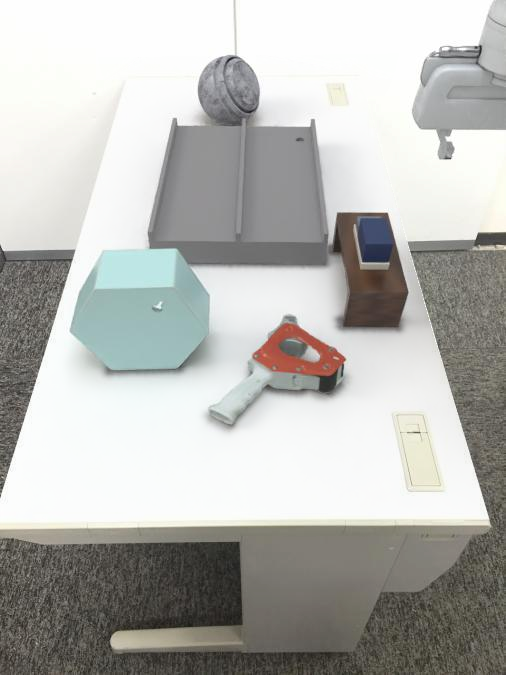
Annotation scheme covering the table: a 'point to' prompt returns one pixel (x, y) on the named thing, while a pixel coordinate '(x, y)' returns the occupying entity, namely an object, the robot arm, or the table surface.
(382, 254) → the navy lidded box
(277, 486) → the table surface
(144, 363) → the cyan faceted polyhedron
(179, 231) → the desk organizer
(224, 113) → the decorative orb
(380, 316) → the brown wooden block
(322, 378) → the tape dispenser
